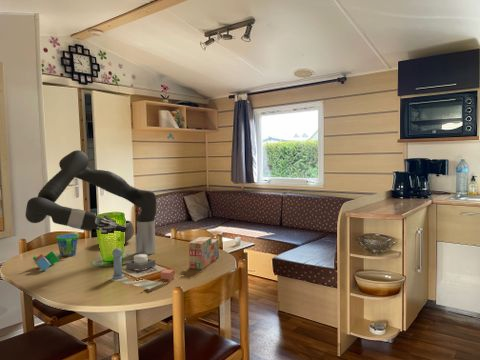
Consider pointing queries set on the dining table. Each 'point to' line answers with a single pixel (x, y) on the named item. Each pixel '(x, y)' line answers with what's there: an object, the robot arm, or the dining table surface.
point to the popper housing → (140, 266)
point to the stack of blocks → (203, 252)
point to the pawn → (117, 263)
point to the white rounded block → (140, 258)
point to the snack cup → (67, 244)
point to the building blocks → (45, 260)
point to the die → (167, 275)
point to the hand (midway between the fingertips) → (125, 229)
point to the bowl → (129, 231)
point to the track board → (140, 283)
